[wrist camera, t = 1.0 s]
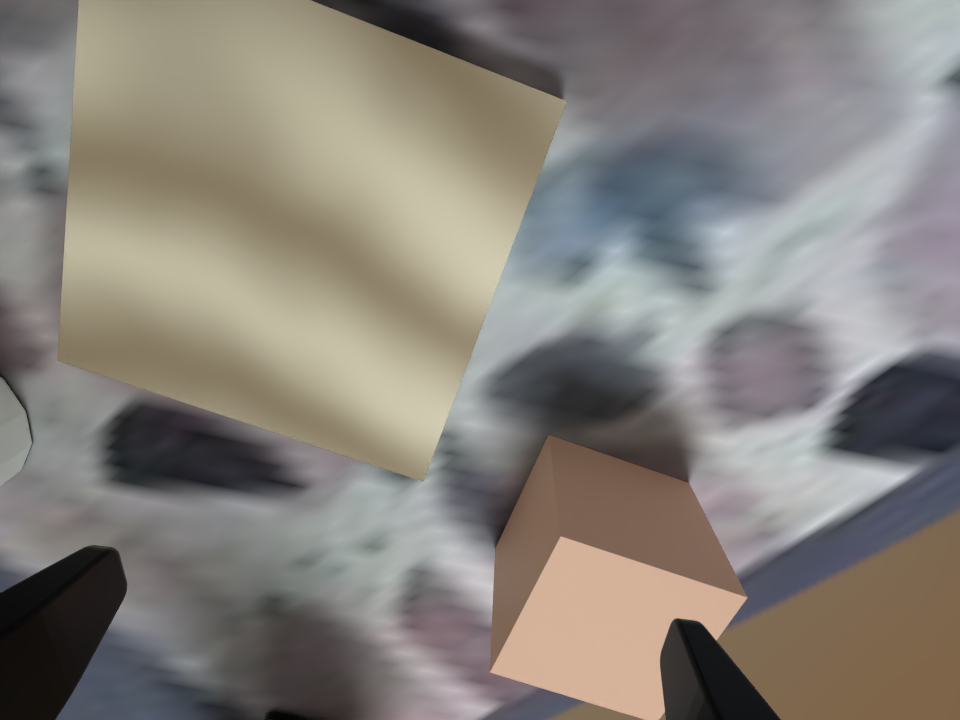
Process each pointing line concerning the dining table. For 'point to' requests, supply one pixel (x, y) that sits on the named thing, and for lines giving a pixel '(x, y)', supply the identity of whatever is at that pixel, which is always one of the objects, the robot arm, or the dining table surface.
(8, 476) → the white cup
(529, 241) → the dining table surface
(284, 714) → the robot arm
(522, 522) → the terracotta cube
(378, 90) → the birch board
